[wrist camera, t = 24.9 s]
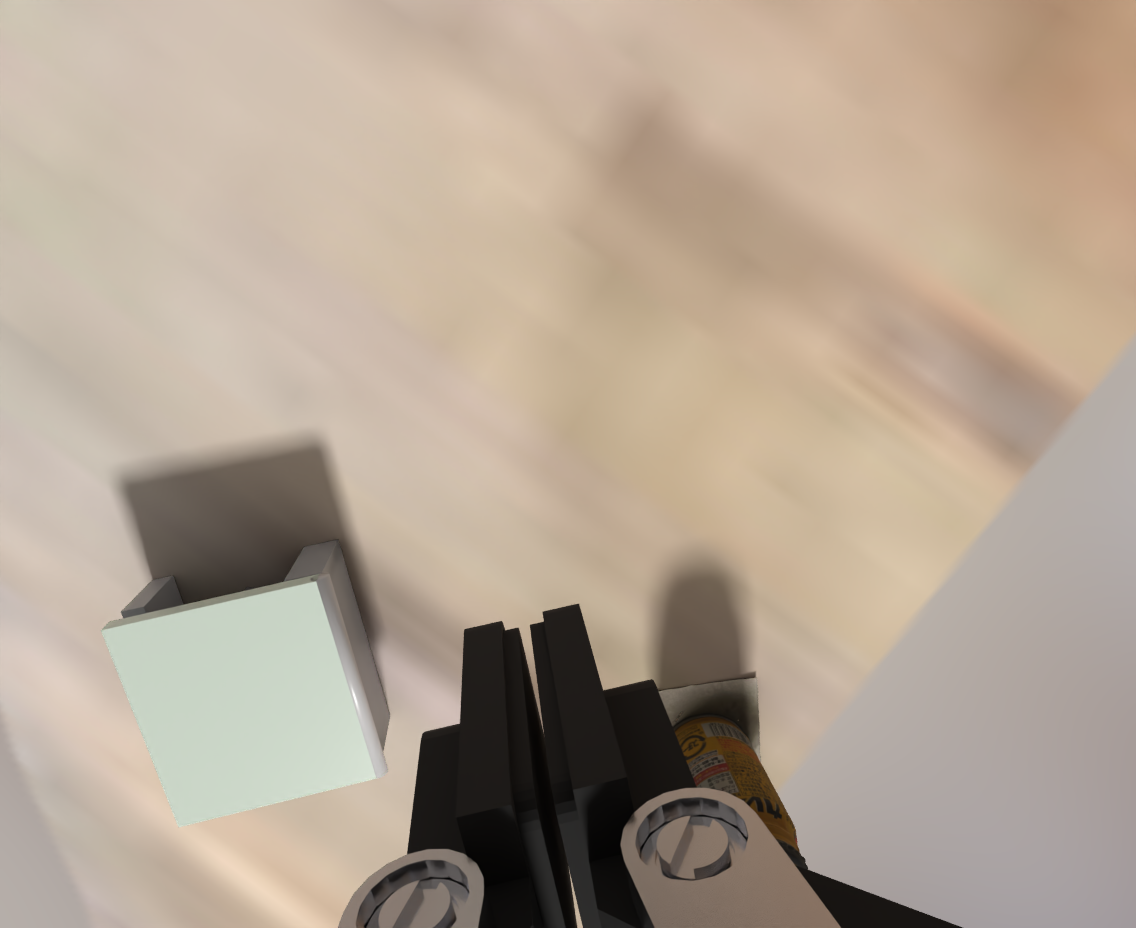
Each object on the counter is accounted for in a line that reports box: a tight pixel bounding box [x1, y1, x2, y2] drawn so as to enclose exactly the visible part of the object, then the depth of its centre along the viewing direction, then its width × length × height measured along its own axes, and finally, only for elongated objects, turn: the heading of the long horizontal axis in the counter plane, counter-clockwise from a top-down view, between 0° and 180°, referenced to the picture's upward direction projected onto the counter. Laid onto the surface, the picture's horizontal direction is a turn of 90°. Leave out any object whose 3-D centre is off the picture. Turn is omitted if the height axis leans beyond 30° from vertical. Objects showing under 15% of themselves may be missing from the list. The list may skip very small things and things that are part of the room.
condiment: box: [658, 678, 808, 870], centre depth 47 cm, size 7×8×12 cm
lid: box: [101, 573, 388, 827], centre depth 43 cm, size 12×11×1 cm
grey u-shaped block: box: [121, 540, 390, 751], centre depth 46 cm, size 12×11×5 cm
